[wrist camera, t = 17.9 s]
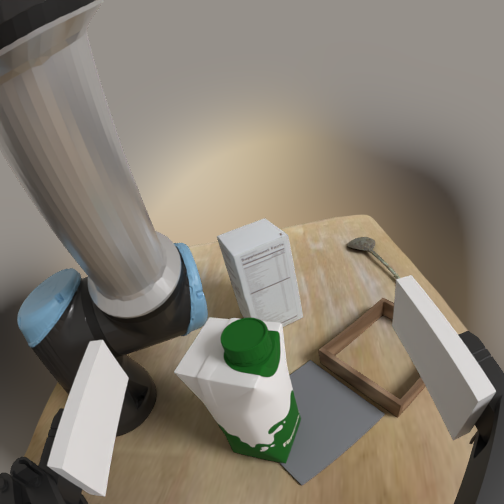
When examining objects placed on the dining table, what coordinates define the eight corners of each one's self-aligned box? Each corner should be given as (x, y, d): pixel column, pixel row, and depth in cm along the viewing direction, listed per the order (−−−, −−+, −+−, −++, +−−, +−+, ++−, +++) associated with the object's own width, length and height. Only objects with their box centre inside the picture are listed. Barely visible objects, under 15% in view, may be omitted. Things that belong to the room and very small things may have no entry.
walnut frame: (320, 362, 45) (318, 349, 44) (382, 310, 52) (382, 297, 50) (397, 417, 33) (400, 405, 32) (454, 348, 40) (458, 334, 38)
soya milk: (291, 471, 30) (251, 379, 21) (223, 455, 34) (153, 360, 25) (309, 413, 37) (285, 300, 28) (247, 404, 41) (199, 296, 31)
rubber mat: (234, 412, 40) (234, 411, 40) (310, 361, 46) (310, 360, 46) (302, 485, 29) (301, 484, 28) (384, 414, 34) (384, 413, 34)
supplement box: (282, 293, 63) (266, 216, 55) (304, 317, 55) (291, 233, 47) (238, 312, 61) (215, 234, 53) (256, 339, 53) (232, 255, 45)
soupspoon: (366, 240, 76) (343, 248, 76) (365, 228, 74) (341, 236, 74) (415, 282, 56) (388, 294, 56) (415, 268, 55) (387, 280, 54)
